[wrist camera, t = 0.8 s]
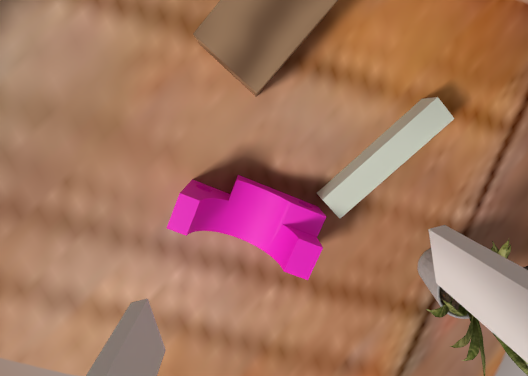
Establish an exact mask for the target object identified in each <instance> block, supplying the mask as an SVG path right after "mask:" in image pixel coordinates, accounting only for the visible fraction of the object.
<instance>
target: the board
mask: <svg viewBox="0 0 528 376" xmlns="http://www.w3.org/2000/svg"><path fill="white" fill-rule="evenodd" d="M453 119H454V117H453V116H452V115H451V113H450V112H449V111H448V110H447V108H446V107H445V106H444V104H443V103H442V102H441V101H440V99H439V98H438V97H434V98H425V99H421V100H420V101H419V102H418V103H417V104H416V105H414V106H413V107H412V108H411V109H410V110H409V111H408V112H407V113H405V114H404V115H403V116H402V117H401V118H400V119H399V120H398V121H396V122H395V123H394V124H393V125H392V126H391V127H390V128H389V129H388V130H386V131H385V132H384V133H383V134H382V135H381V136H380V137H379V138H377V139H376V140H375V141H374V142H373V143H372V144H371V145H370V146H369V147H367V148H366V149H365V150H364V151H363V152H362V153H361V154H360V155H358V156H357V157H356V158H355V159H354V160H353V161H352V162H351V163H350V164H348V165H347V166H346V167H345V168H344V169H343V170H342V171H341V172H339V173H338V174H337V175H336V176H335V177H334V178H333V179H332V180H331V181H329V182H328V183H327V184H326V185H325V186H324V187H323V188H322V189H320V190H319V191H318V192H317V194H318V196H319V197H320V198H321V199H322V200H323V201H324V202H325V203H326V204H327V205H328V206H329V208H330V209H331V210H332V211H333V212H334V213H335V214H336V215H337V216H338V217H339V218H341V217H343V216H344V215H345V214H346V213H347V212H348V211H349V210H351V209H352V208H353V207H354V206H355V205H356V204H357V203H359V202H360V201H361V200H362V199H363V198H364V197H365V196H367V195H368V194H369V193H370V192H371V191H372V190H373V189H375V188H376V187H377V186H378V185H379V184H380V183H381V182H383V181H384V180H385V179H386V178H387V177H388V176H389V175H391V174H392V173H393V172H394V171H395V170H396V169H397V168H399V167H400V166H401V165H402V164H403V163H404V162H405V161H407V160H408V159H409V158H410V157H411V156H412V155H413V154H415V153H416V152H417V151H418V150H419V149H420V148H421V147H423V146H424V145H425V144H426V143H427V142H428V141H429V140H431V139H432V138H433V137H434V136H435V135H436V134H437V133H439V132H440V131H441V130H442V129H443V128H444V127H445V126H447V125H448V124H449V123H450V122H451V121H452V120H453Z"/></svg>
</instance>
